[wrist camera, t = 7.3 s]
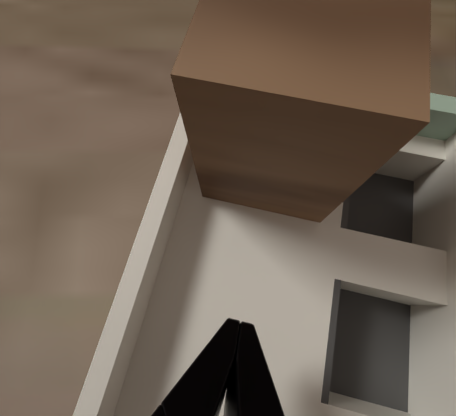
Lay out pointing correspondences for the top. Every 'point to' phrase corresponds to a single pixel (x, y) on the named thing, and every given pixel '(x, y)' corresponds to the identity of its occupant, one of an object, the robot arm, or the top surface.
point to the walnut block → (301, 97)
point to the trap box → (296, 290)
